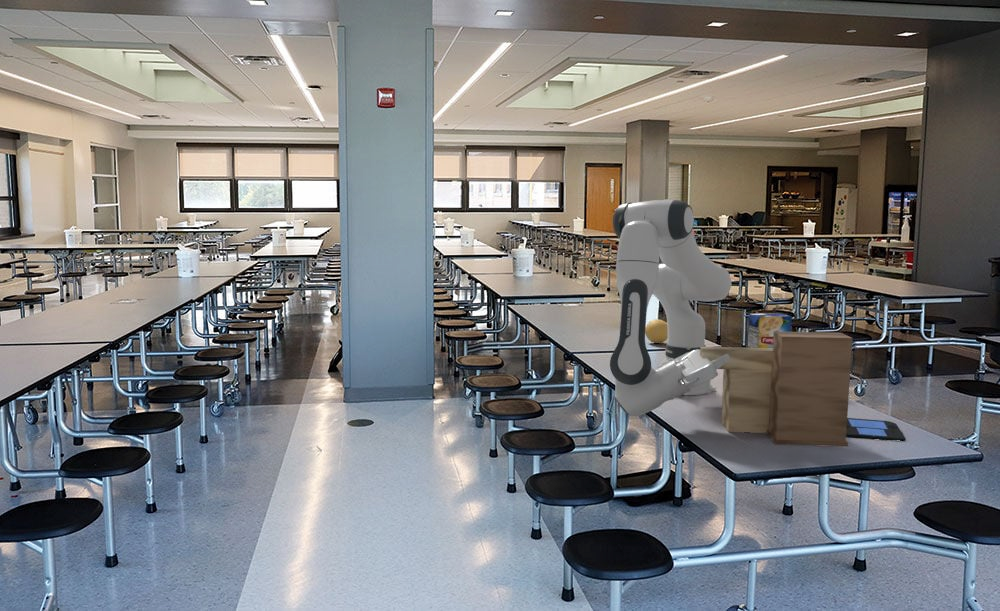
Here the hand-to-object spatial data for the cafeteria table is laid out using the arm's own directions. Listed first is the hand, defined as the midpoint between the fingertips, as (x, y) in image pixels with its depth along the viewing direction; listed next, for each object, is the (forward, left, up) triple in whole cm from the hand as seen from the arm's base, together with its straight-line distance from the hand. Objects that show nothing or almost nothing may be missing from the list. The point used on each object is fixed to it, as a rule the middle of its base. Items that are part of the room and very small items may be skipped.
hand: (725, 352), depth 197 cm
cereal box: (-52, +24, -20) cm, 61 cm away
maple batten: (0, +4, -4) cm, 6 cm away
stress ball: (-119, -3, -20) cm, 121 cm away
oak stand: (0, +12, -19) cm, 23 cm away
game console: (+1, +36, -20) cm, 41 cm away
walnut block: (+9, +18, -19) cm, 28 cm away
